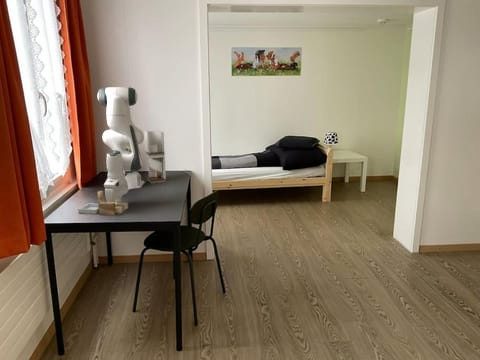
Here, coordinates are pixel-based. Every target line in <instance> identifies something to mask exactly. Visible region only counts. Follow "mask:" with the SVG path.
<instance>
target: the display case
mask: <svg viewBox="0 0 480 360" xmlns="http://www.w3.org/2000/svg"><path fill="white" fill-rule="evenodd" d="M143 133H144V144H145V156H146V157H147V165H148V176H147V181H148V182H149V183H150V184H157V183H158V184H159V183H165V182H167V173H166V171H167V170H166V155H165V154H166V153H165V152H166V151H165V139H164V138H165V137H164V136H165V135H164V134H165V133H164V131H162V130H146V131H145V130H144V131H143Z"/></svg>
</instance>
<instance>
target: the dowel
mask: <svg viewBox="0 0 480 360" xmlns="http://www.w3.org/2000/svg"><path fill="white" fill-rule="evenodd" d="M104 196H105V195H104V191H103V190H99V191H97V201H98V204H99V203H100V202H105V197H104Z"/></svg>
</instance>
